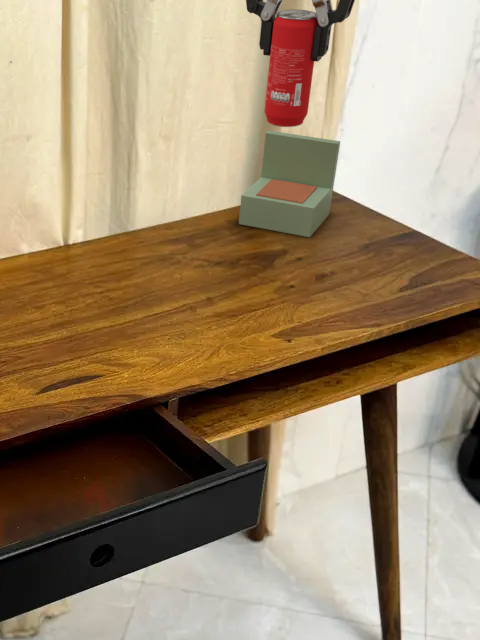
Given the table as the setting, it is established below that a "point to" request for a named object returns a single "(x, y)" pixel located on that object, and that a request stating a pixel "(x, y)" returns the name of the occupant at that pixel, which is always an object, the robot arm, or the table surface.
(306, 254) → the table surface
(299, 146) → the shelf stand
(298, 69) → the beverage can
